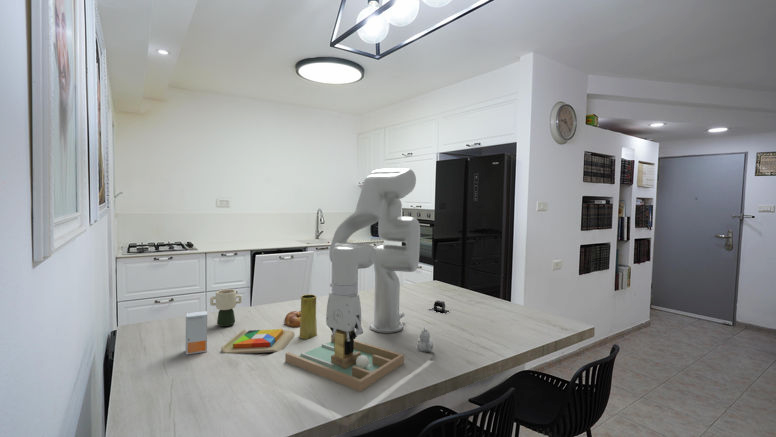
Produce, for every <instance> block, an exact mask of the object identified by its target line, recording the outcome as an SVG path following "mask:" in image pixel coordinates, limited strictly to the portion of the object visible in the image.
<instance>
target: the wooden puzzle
mask: <svg viewBox="0 0 776 437" xmlns="http://www.w3.org/2000/svg"><path fill="white" fill-rule="evenodd" d="M294 337H295V332H294V331H293V330H290V329H286V330H284V329H283V328H277V329H253V330H251V329H250V330H248V331H247V330H245V329H242V330H240V331H239V333H236V334H235V335H234V336H233V337H232V338H231V339H230V340H228V341H227V342H225V344H223V345H222V347H221V352H222V354H237V355H238V354H241V355H243V354H244V355H245V354H258V353H260V354H261V353H263V354H264V353H277V352H280V351H282V350H283V351H284V350H285V349H286V347H287V346H288V345H289V344H290V342H291V341H292V340H293V338H294Z"/></svg>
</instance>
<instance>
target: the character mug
mask: <svg viewBox="0 0 776 437" xmlns="http://www.w3.org/2000/svg"><path fill="white" fill-rule="evenodd" d="M237 298H238V300H237ZM242 298H243V297H242V294H237V290H236V289H232V288H231V289H229V288H227V289H226V288H225V289H220V290H217V291H216V292H215V296H211V297H210V299H209V302H210V306H211V307H216V309H217V310H218V314H217V319H216V320H217V322H216V324H217V325H218V326H221V327H227V326H231V325H234V324H235V322H236V317H235V311H234V309H235V308H236V306H237V304H242V300H243V299H242ZM214 300H215V302H214Z"/></svg>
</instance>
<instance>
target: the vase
mask: <svg viewBox="0 0 776 437" xmlns="http://www.w3.org/2000/svg"><path fill="white" fill-rule="evenodd" d="M300 311H301V319H300V327H299V338H300V339H302V340H303V339H304V340H310V339H313V338H316V337H317V336H318V327H317V296H316V295H315V294H309V293H308V294H302V295H301V296H300Z"/></svg>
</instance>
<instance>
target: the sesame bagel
mask: <svg viewBox="0 0 776 437" xmlns="http://www.w3.org/2000/svg"><path fill="white" fill-rule="evenodd" d="M300 319H301V310H299V311H297V310H293V311H290V312H288V313H287V314H286V315H285V317H284V320H283V321H284V323H285V325H286V326H289V327H292V328H300Z"/></svg>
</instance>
